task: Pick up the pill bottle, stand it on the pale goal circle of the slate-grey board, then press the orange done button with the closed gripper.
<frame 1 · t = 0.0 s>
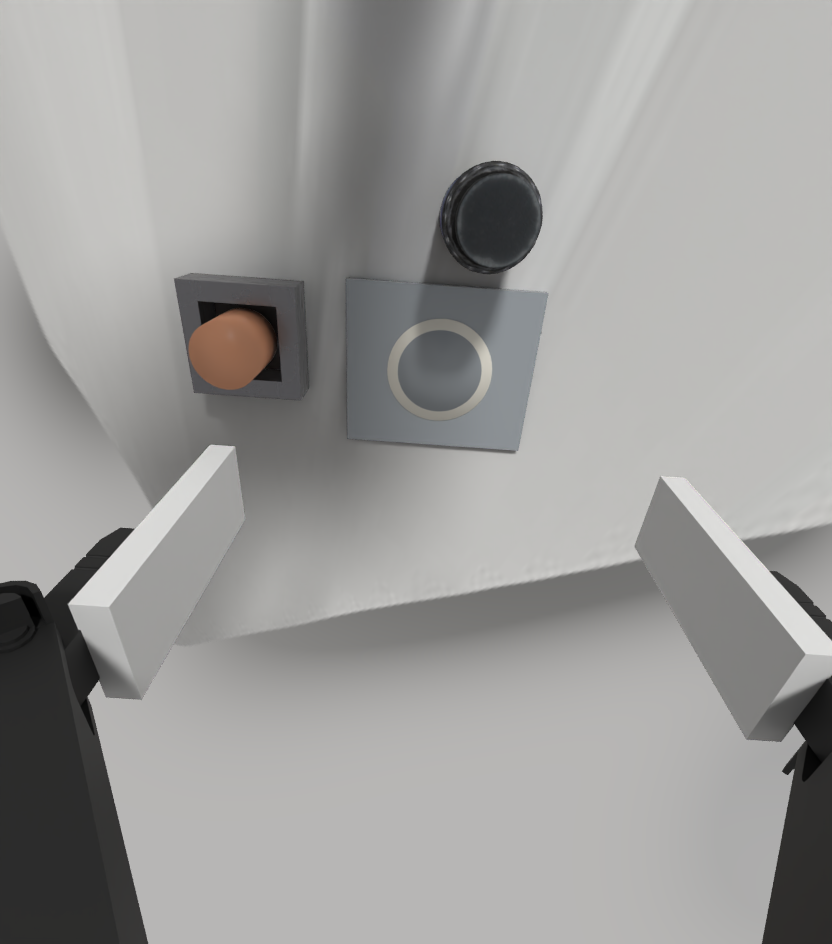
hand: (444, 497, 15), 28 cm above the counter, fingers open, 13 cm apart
pill bottle: (479, 216, 36), on the counter
button: (235, 347, 37), point 4 cm above the counter, slide at 0.0 cm
board: (439, 369, 42), on the counter
button housing: (253, 333, 41), on the counter
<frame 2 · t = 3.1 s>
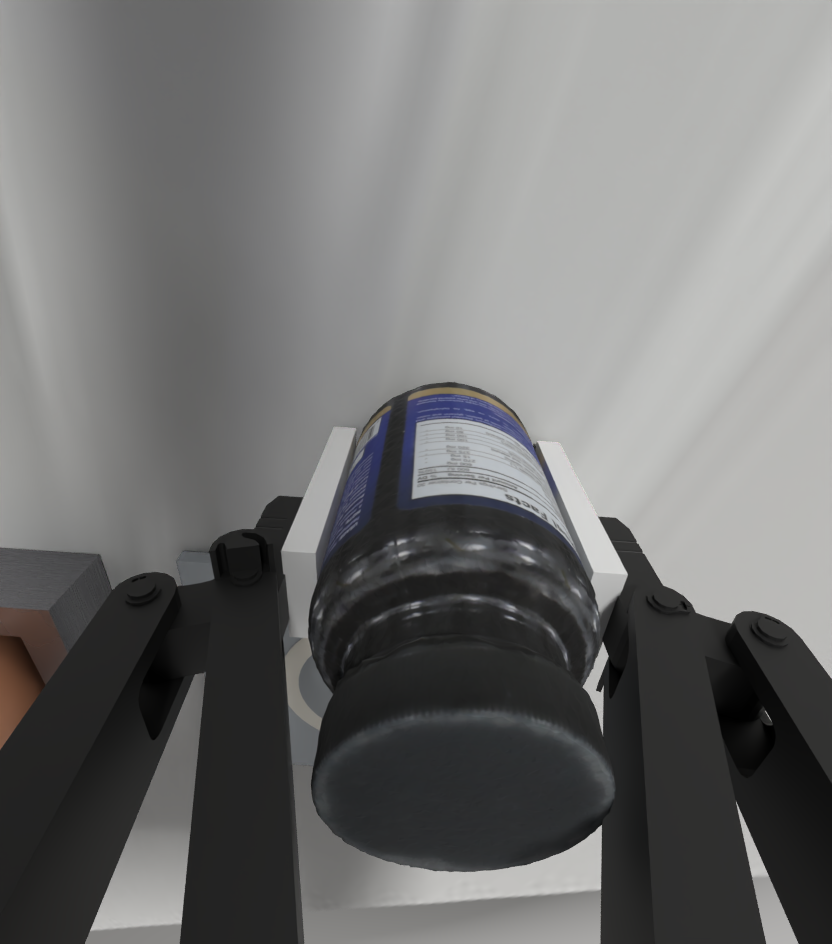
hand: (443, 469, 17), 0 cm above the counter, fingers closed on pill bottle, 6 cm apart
pill bottle: (443, 457, 17), on the counter, touching gripper
board: (377, 676, 23), on the counter
button housing: (26, 624, 22), on the counter
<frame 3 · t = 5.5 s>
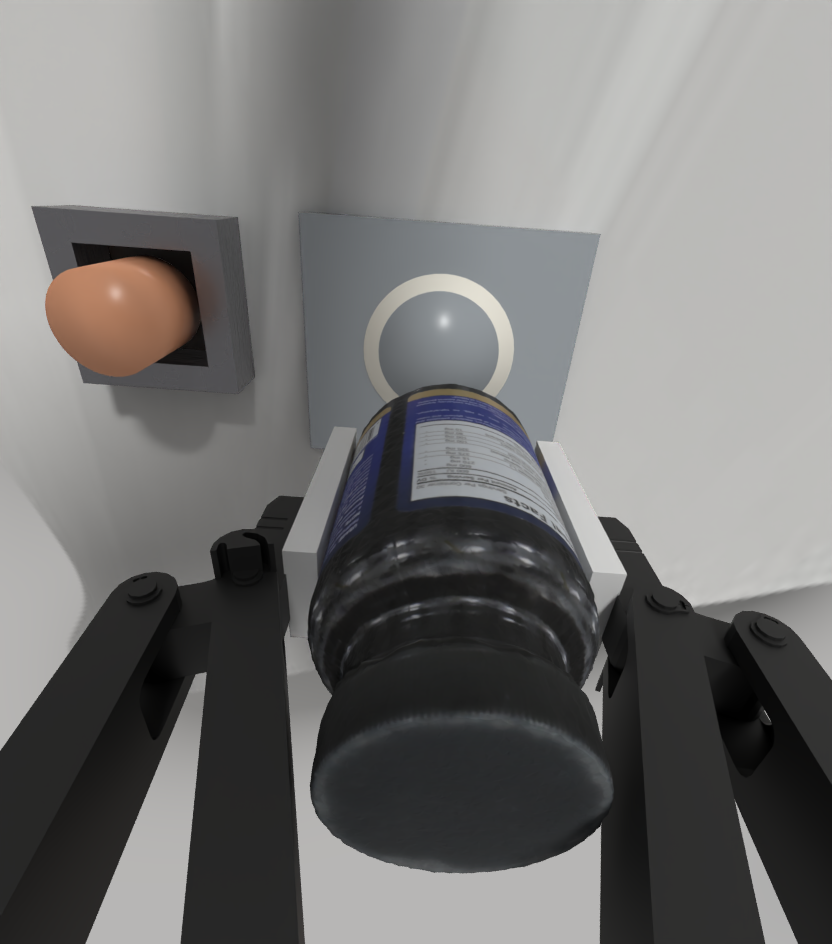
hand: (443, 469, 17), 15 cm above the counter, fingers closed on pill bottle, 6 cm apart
pill bottle: (443, 458, 17), point 14 cm above the counter, touching gripper
button: (130, 313, 25), point 4 cm above the counter, slide at 0.0 cm
board: (438, 351, 29), on the counter
button housing: (170, 298, 28), on the counter
when the fingers open (2 cm above the counter, at t = 7.9 s): pill bottle drops 1 cm, resting on board.
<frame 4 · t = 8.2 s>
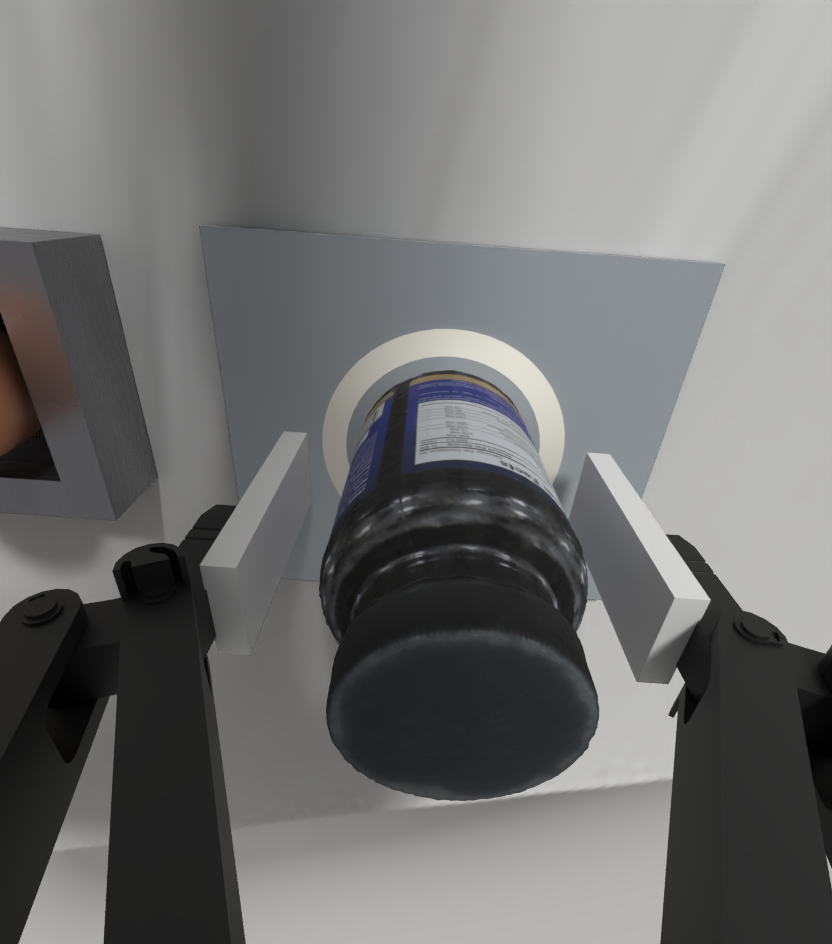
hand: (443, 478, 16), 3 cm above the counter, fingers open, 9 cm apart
pill bottle: (442, 442, 18), point 1 cm above the counter, touching board
board: (441, 442, 19), on the counter
button housing: (8, 362, 17), on the counter
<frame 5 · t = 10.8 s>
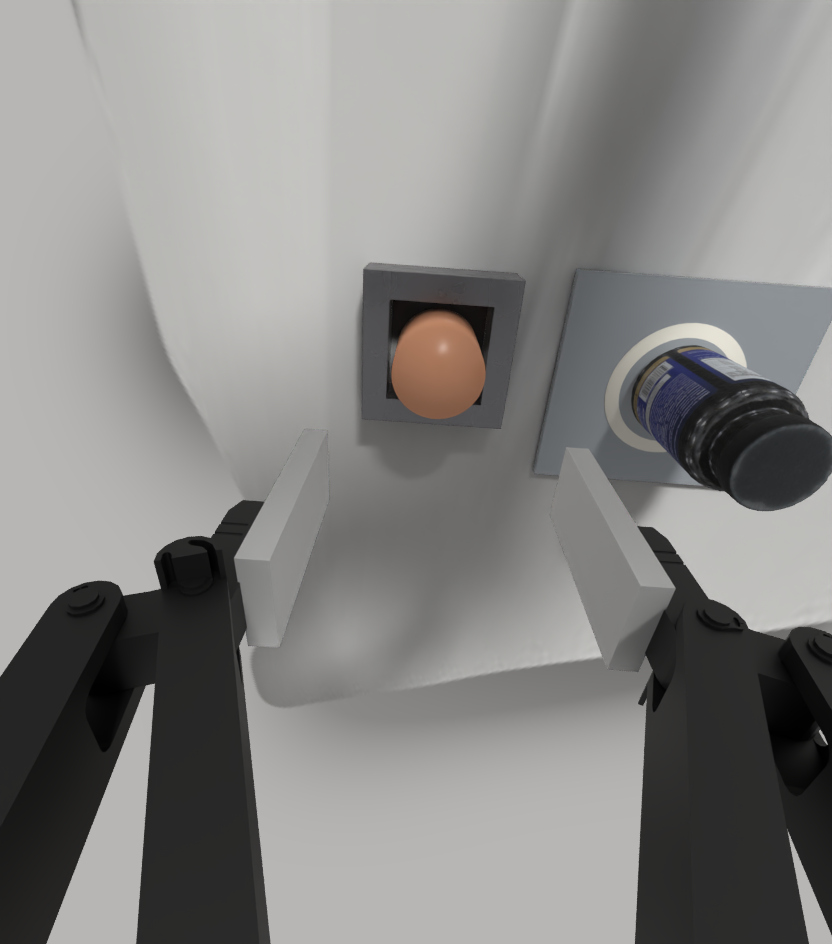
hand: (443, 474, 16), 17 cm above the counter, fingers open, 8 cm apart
pill bottle: (674, 387, 32), point 1 cm above the counter, touching board
button: (437, 361, 28), point 4 cm above the counter, slide at 0.0 cm
board: (669, 388, 32), on the counter
button housing: (437, 342, 31), on the counter
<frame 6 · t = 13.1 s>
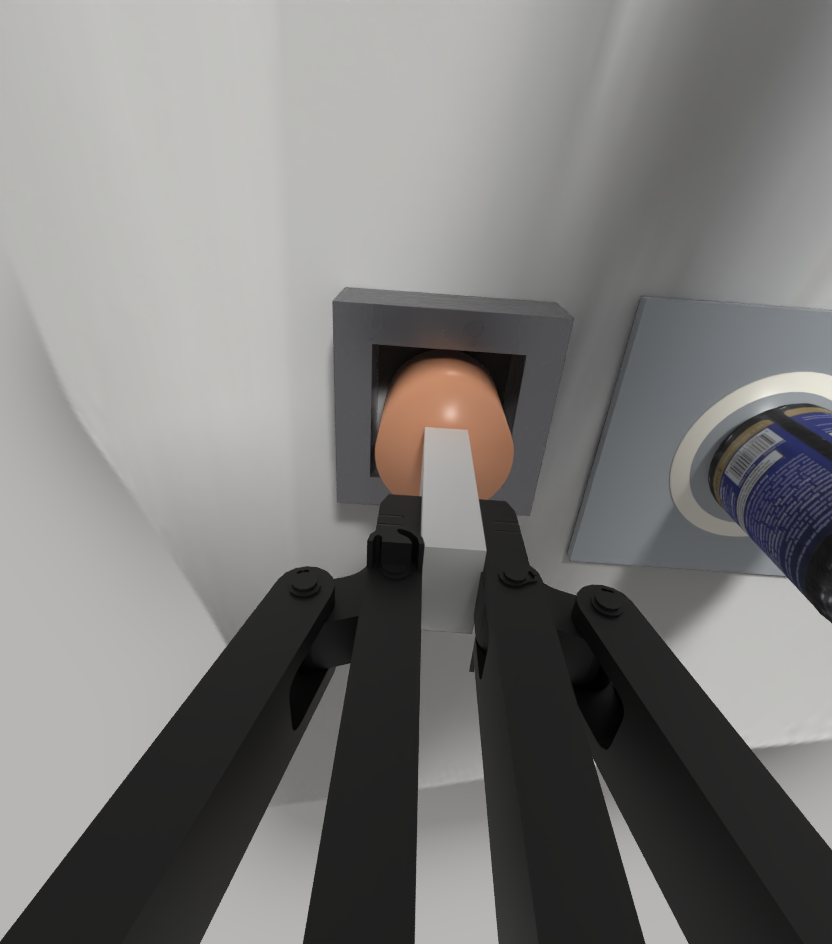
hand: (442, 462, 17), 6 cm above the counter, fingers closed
pill bottle: (768, 456, 23), point 1 cm above the counter, touching board
button: (442, 427, 19), point 4 cm above the counter, slide at 0.6 cm, touching gripper
board: (759, 455, 24), on the counter
button housing: (441, 394, 23), on the counter
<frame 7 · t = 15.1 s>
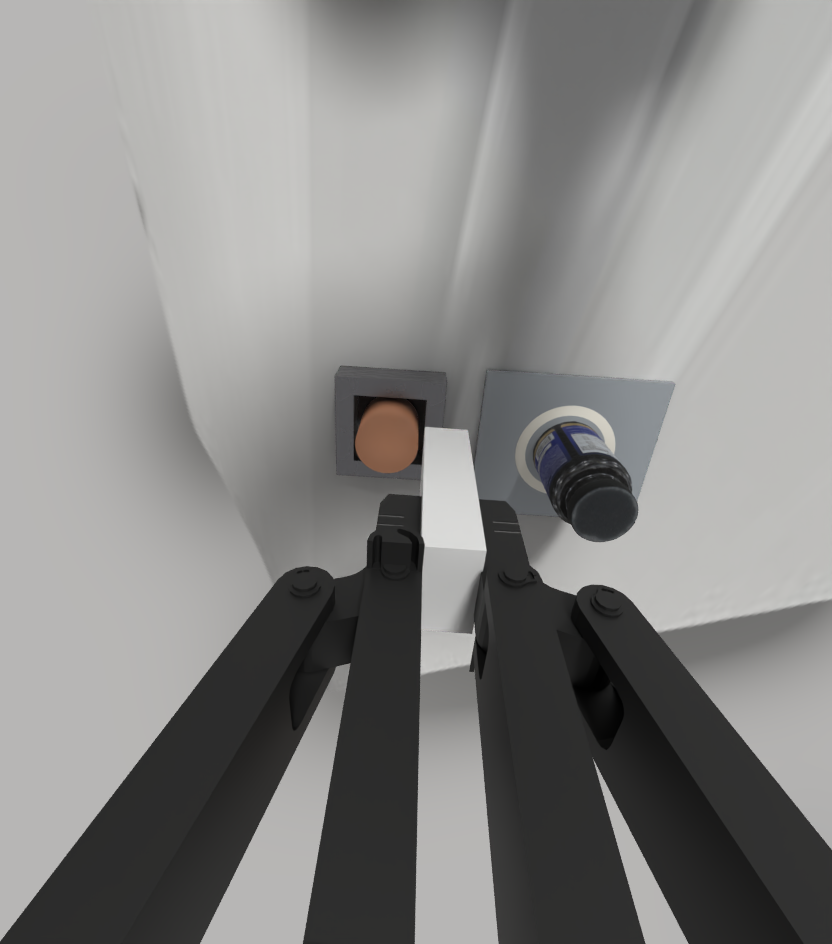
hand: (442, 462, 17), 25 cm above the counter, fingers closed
pill bottle: (565, 449, 44), point 1 cm above the counter, touching board
button: (388, 432, 40), point 3 cm above the counter, slide at 1.0 cm
board: (562, 449, 44), on the counter
button housing: (391, 418, 43), on the counter
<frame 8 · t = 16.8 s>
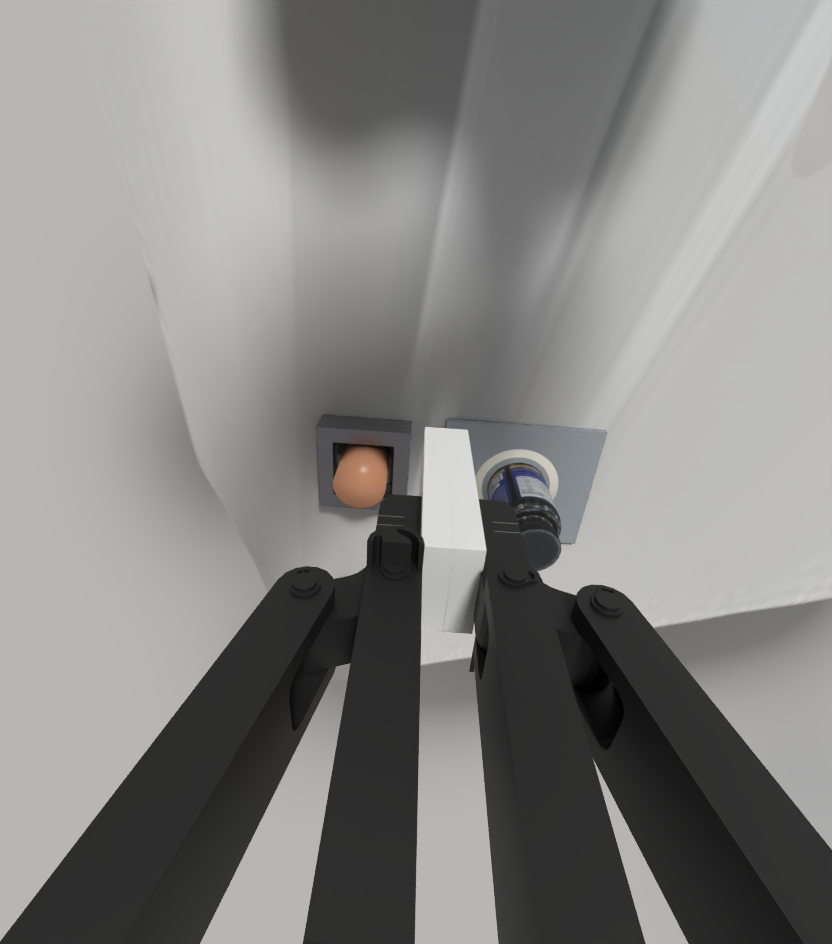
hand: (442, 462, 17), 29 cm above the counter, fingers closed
pill bottle: (515, 484, 51), point 1 cm above the counter, touching board
button: (362, 472, 48), point 3 cm above the counter, slide at 1.0 cm
board: (514, 483, 52), on the counter
button housing: (366, 457, 51), on the counter
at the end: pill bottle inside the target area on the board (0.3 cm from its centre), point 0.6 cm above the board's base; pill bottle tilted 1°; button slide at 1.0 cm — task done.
